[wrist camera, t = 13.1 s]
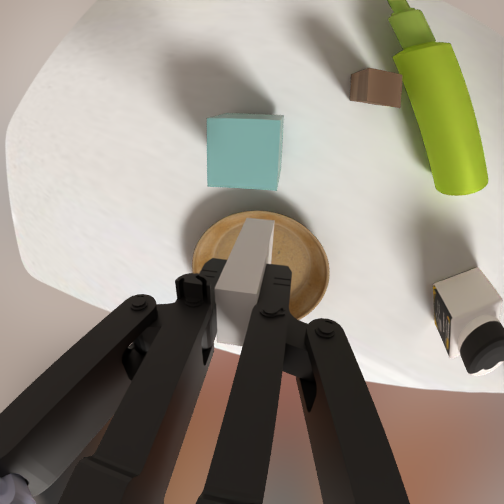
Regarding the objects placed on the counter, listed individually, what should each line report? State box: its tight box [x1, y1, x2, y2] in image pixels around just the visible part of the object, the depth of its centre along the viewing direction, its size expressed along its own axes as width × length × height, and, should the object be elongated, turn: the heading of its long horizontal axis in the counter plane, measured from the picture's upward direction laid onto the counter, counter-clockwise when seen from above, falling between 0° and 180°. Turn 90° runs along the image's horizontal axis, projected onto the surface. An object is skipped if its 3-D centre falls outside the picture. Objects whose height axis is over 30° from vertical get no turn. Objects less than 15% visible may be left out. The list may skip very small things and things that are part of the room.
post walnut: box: [350, 68, 402, 108], centre depth 21 cm, size 3×3×7 cm
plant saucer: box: [192, 211, 330, 320], centre depth 33 cm, size 15×15×3 cm
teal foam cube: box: [207, 113, 284, 191], centre depth 24 cm, size 5×5×7 cm
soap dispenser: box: [387, 0, 488, 196], centre depth 19 cm, size 6×7×20 cm
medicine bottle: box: [433, 267, 504, 376], centre depth 27 cm, size 7×7×12 cm
